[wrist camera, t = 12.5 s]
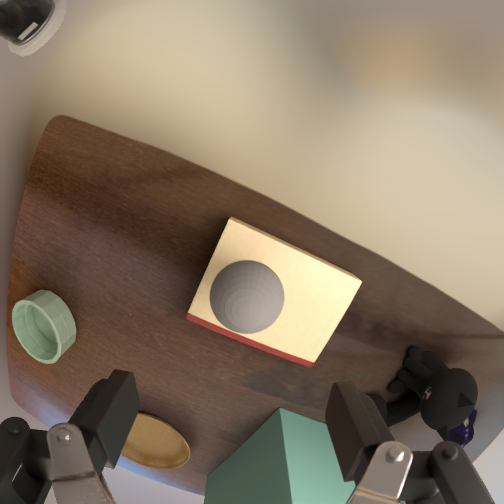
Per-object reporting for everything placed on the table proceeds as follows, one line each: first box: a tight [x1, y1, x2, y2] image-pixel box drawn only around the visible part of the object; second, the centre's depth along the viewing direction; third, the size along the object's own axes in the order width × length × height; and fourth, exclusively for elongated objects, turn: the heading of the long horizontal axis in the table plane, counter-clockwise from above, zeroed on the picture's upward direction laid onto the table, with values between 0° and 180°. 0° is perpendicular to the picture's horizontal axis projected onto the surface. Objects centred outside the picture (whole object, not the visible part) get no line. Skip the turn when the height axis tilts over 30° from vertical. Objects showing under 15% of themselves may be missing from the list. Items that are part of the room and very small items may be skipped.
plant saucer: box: [121, 412, 190, 469], centre depth 37 cm, size 15×15×3 cm
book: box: [186, 217, 362, 367], centre depth 32 cm, size 16×12×3 cm
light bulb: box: [209, 260, 285, 334], centre depth 25 cm, size 6×6×10 cm
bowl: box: [12, 290, 76, 364], centre depth 32 cm, size 10×10×5 cm
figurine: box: [369, 346, 478, 441], centre depth 30 cm, size 16×14×15 cm
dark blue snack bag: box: [448, 409, 477, 448], centre depth 40 cm, size 9×15×4 cm, turn 13°
